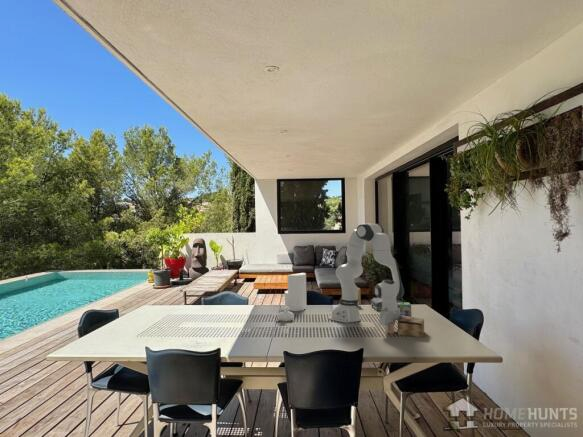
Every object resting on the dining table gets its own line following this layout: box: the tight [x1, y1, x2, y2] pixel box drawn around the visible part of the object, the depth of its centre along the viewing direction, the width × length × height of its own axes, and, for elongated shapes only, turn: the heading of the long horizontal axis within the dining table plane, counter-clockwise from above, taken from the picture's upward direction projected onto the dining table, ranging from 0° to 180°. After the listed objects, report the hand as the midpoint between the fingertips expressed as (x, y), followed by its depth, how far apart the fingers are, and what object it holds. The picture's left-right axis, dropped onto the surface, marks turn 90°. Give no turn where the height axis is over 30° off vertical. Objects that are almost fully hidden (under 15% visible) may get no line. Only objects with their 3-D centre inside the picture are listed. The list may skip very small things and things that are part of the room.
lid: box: [397, 315, 425, 325], centre depth 207 cm, size 14×11×1 cm
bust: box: [276, 305, 295, 322], centre depth 236 cm, size 12×8×11 cm, turn 92°
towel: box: [370, 297, 382, 311], centre depth 269 cm, size 15×18×8 cm
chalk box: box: [396, 297, 413, 321], centre depth 235 cm, size 9×9×15 cm
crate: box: [397, 320, 425, 338], centre depth 207 cm, size 14×11×7 cm
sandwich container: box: [357, 286, 362, 308], centre depth 278 cm, size 9×15×15 cm, turn 98°
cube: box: [385, 322, 395, 334], centre depth 209 cm, size 4×4×6 cm
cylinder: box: [284, 272, 308, 312], centre depth 272 cm, size 17×17×28 cm
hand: (389, 329), depth 209 cm, fingers closed on cube, 5 cm apart
